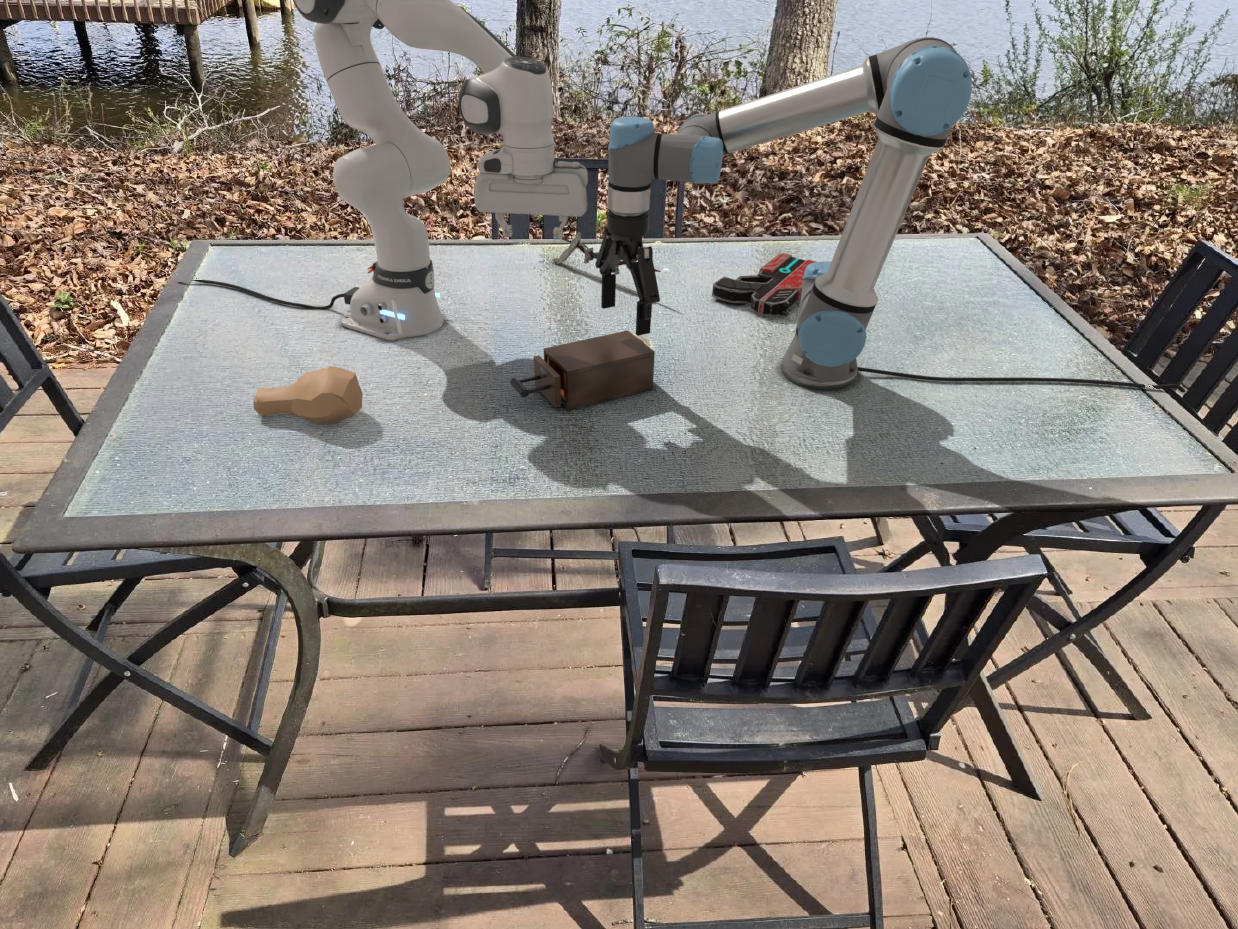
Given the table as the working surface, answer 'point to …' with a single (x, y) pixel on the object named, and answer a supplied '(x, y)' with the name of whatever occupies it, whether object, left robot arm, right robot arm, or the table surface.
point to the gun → (766, 286)
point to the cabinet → (603, 368)
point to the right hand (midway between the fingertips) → (625, 320)
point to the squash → (314, 397)
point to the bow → (588, 253)
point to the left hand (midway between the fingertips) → (532, 237)
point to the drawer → (544, 381)
